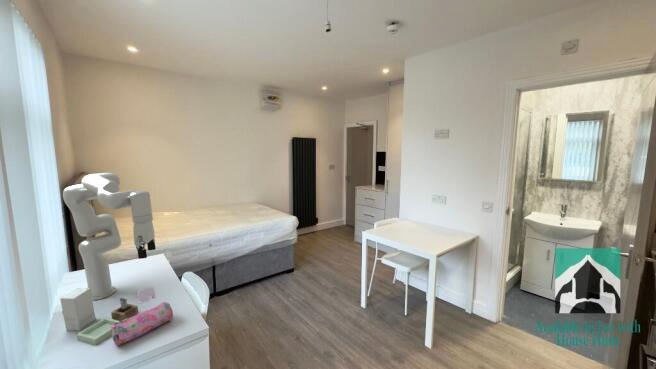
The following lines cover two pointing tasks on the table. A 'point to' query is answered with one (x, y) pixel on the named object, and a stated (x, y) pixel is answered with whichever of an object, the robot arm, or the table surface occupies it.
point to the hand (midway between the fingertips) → (147, 253)
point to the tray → (97, 332)
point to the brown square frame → (121, 316)
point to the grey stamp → (123, 304)
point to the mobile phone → (146, 295)
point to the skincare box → (78, 309)
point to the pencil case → (141, 323)
